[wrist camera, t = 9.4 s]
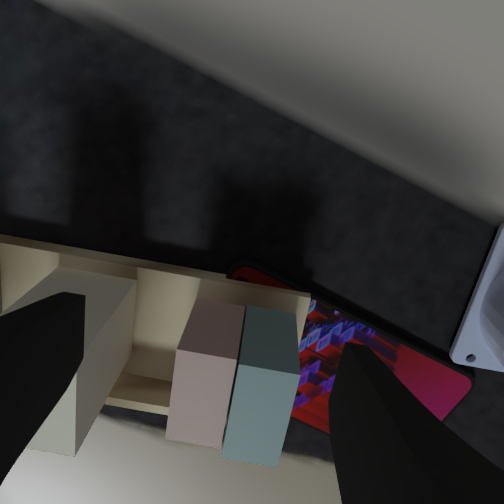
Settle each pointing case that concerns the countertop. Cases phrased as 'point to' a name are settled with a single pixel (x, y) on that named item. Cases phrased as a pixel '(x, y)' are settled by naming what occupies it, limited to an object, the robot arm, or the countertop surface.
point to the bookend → (0, 295)
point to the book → (87, 352)
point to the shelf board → (143, 307)
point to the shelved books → (235, 380)
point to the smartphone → (360, 332)
